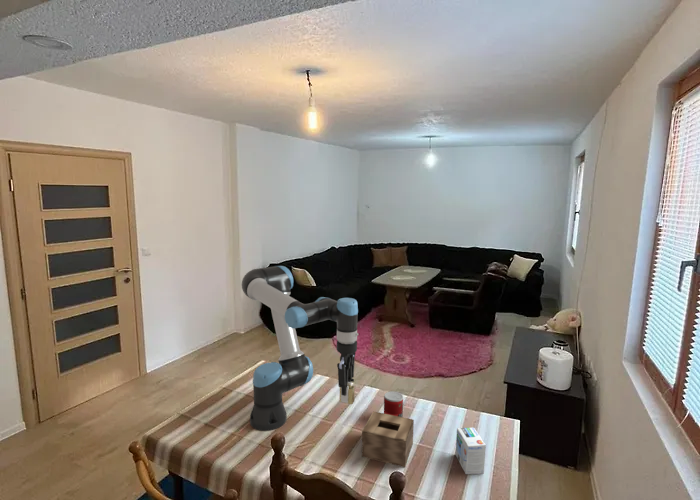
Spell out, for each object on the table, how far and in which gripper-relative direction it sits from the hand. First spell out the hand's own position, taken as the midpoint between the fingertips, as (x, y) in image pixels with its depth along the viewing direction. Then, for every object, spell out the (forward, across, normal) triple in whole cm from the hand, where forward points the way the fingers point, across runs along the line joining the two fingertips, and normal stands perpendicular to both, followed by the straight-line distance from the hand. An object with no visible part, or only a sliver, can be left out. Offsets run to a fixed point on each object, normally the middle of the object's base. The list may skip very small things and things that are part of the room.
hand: (346, 399), depth 147 cm
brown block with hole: (+18, +2, -16) cm, 24 cm away
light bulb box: (+18, +5, -45) cm, 49 cm away
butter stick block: (+1, 0, 0) cm, 1 cm away
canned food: (+18, +22, -13) cm, 31 cm away
